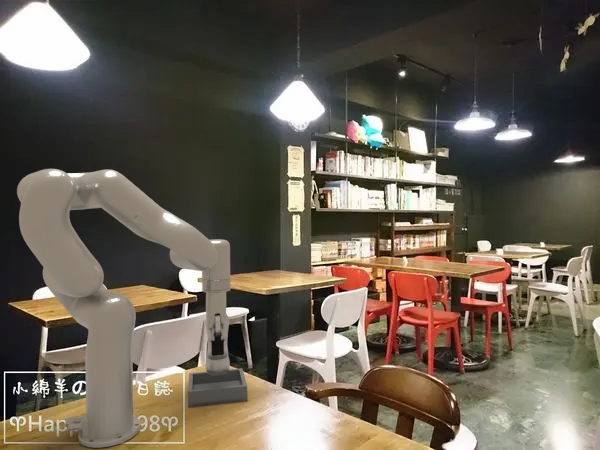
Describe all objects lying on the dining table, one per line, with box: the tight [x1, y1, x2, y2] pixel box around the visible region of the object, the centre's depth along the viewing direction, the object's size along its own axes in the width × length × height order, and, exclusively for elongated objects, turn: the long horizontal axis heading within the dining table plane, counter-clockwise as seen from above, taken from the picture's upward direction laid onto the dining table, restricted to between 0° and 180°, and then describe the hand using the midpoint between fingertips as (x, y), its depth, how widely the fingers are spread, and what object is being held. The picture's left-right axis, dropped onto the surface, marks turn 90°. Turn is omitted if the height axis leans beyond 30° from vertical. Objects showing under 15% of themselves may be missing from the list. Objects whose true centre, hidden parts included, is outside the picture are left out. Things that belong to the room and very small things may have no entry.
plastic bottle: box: [204, 313, 231, 376], centre depth 112 cm, size 6×7×20 cm
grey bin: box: [187, 368, 248, 408], centre depth 112 cm, size 15×13×4 cm
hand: (217, 350), depth 112 cm, fingers closed on plastic bottle, 5 cm apart
